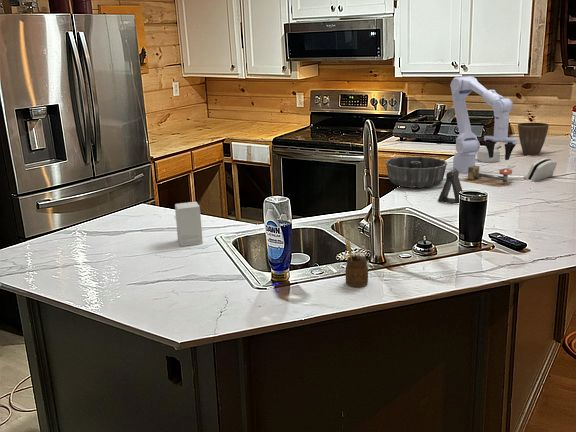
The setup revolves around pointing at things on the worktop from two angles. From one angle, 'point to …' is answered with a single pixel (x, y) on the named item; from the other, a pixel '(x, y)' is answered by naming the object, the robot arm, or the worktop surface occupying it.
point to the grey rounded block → (541, 169)
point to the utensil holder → (356, 269)
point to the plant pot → (532, 137)
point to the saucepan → (484, 156)
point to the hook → (501, 171)
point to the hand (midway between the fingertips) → (499, 158)
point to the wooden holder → (473, 173)
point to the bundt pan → (416, 171)
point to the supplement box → (188, 223)
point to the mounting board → (488, 182)
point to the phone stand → (455, 184)
